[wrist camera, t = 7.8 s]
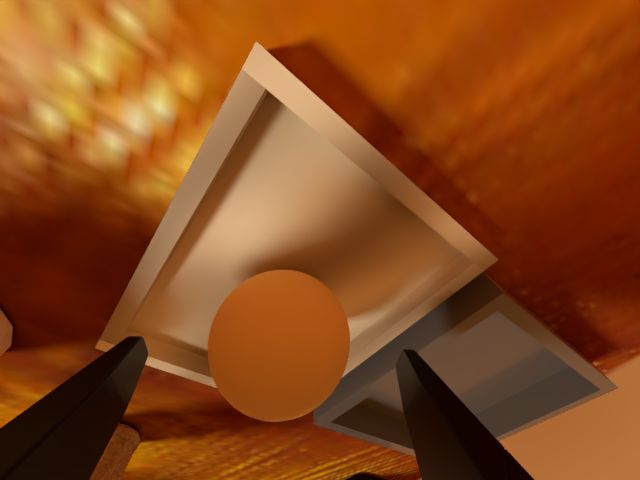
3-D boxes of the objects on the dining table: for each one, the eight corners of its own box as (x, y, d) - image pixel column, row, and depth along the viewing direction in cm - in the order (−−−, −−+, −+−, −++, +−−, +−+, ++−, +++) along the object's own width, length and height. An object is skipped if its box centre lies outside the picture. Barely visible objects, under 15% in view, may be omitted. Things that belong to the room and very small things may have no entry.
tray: (476, 240, 11) (498, 259, 10) (295, 388, 16) (294, 413, 15) (264, 50, 7) (256, 41, 6) (116, 321, 13) (94, 348, 11)
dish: (581, 353, 16) (618, 387, 14) (431, 431, 21) (444, 465, 19) (471, 260, 12) (503, 293, 10) (312, 385, 16) (313, 424, 15)
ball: (363, 280, 11) (400, 396, 7) (298, 341, 13) (296, 461, 9) (268, 222, 10) (240, 328, 5) (208, 301, 11) (152, 428, 7)
